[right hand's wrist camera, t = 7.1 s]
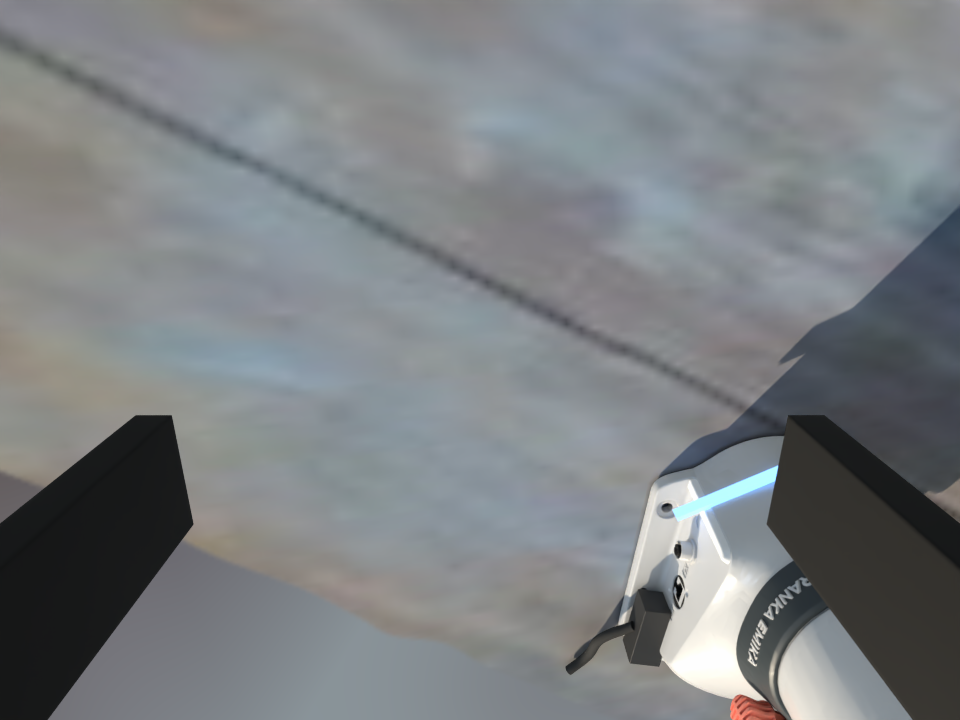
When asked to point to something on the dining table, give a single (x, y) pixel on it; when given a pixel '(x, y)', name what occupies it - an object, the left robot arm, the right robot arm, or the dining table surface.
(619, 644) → the dining table surface
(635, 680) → the dining table surface
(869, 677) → the left robot arm
